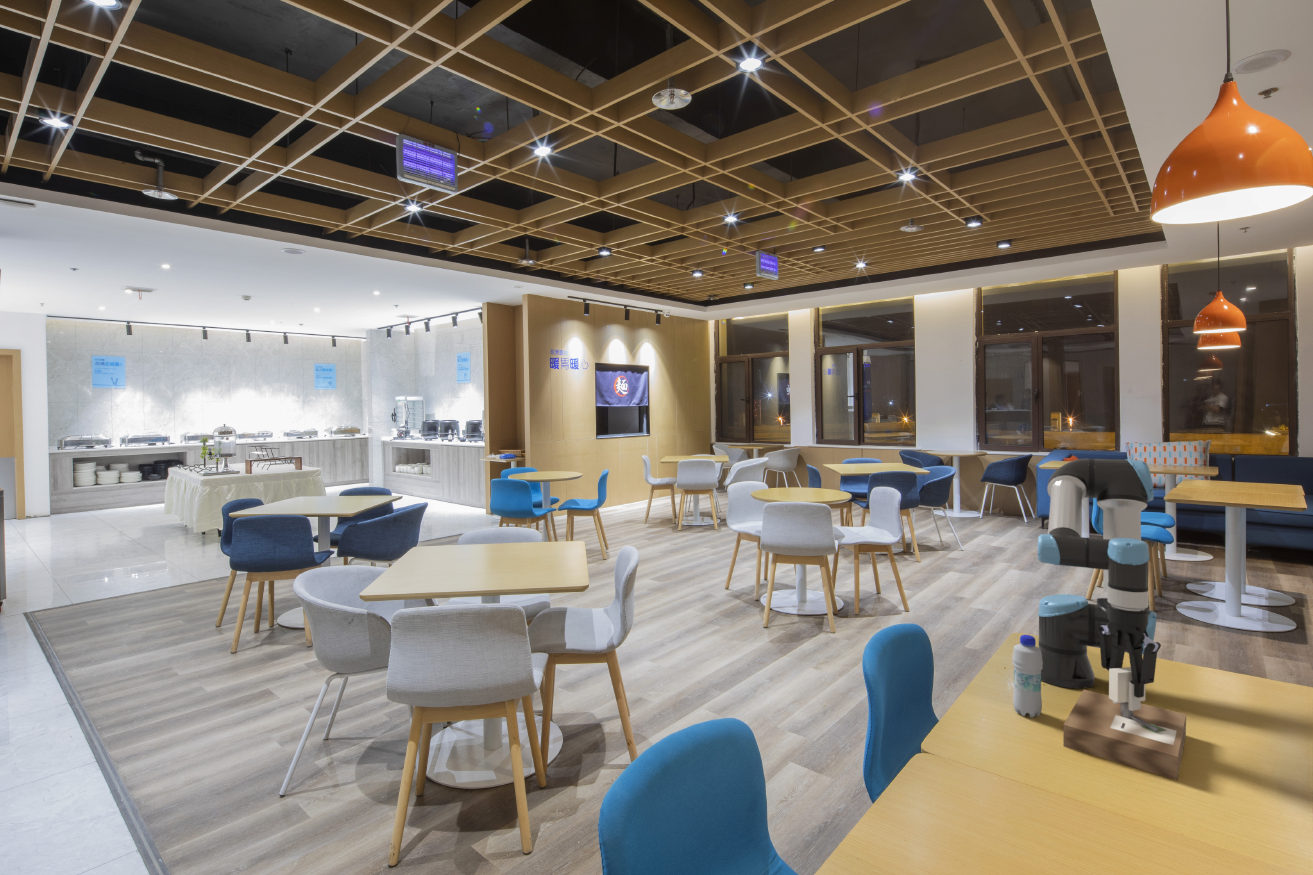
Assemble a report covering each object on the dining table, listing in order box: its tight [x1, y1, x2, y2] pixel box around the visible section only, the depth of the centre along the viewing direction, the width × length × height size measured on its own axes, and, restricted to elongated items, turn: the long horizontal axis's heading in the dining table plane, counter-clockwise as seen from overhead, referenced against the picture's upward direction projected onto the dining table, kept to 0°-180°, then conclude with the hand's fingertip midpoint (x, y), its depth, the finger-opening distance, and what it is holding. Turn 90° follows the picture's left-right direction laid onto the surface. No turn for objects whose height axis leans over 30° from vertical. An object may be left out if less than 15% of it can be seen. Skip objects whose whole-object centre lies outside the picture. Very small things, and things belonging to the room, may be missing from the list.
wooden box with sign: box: [1062, 689, 1187, 781], centre depth 144 cm, size 20×24×5 cm
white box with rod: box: [1108, 666, 1159, 732], centre depth 142 cm, size 7×9×11 cm
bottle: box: [1011, 634, 1043, 718], centre depth 157 cm, size 7×7×20 cm
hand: (1126, 705), depth 145 cm, fingers closed on white box with rod, 3 cm apart
